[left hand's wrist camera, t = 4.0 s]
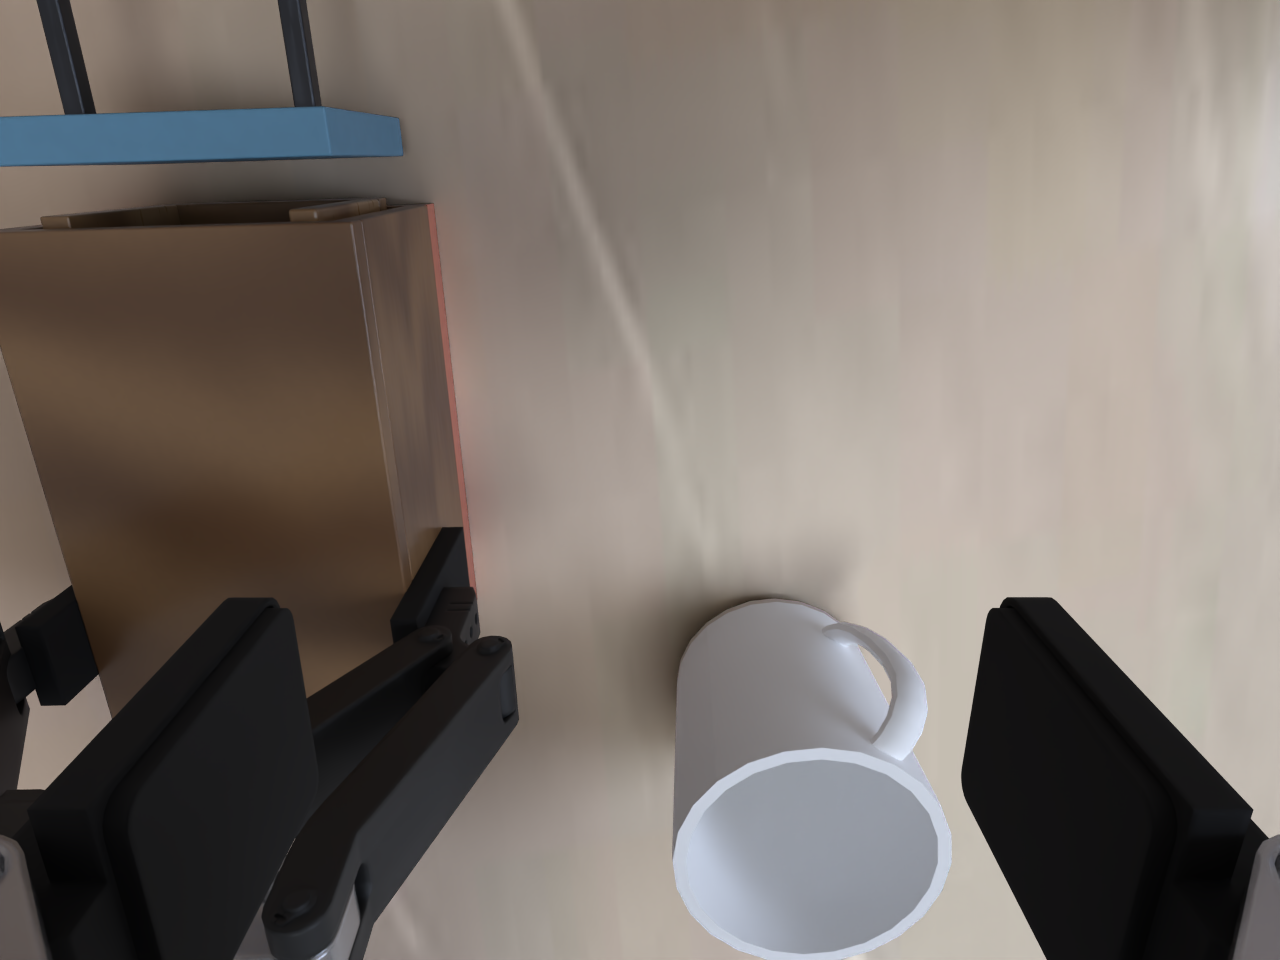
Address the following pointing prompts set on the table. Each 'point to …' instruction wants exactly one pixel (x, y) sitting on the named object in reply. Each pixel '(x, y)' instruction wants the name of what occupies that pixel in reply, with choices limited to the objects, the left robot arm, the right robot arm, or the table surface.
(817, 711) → the mug
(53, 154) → the drawer
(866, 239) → the table surface
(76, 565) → the brown storage bin
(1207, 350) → the table surface
